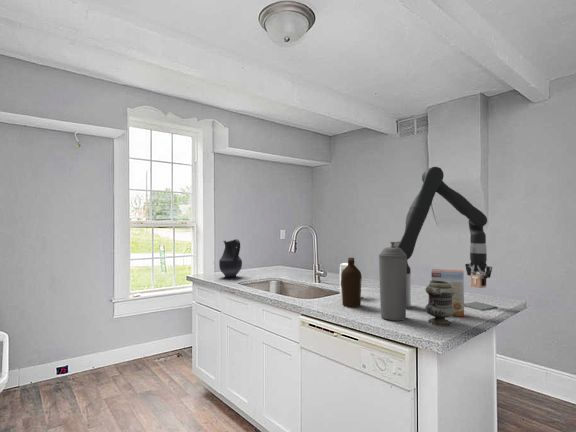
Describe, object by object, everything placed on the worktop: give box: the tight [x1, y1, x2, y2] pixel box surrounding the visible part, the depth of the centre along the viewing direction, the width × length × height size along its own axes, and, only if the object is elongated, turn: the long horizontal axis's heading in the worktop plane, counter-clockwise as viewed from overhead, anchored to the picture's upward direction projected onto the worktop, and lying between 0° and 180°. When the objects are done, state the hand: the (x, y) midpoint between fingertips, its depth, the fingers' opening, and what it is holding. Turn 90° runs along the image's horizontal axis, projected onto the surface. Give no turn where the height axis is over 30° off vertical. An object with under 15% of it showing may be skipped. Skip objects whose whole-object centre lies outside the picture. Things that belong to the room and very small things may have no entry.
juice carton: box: [339, 262, 357, 297], centre depth 212 cm, size 8×9×19 cm
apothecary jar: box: [424, 279, 455, 327], centre depth 158 cm, size 12×12×18 cm
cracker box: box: [431, 268, 465, 318], centre depth 172 cm, size 14×6×21 cm, turn 65°
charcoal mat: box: [464, 301, 498, 312], centre depth 185 cm, size 12×12×1 cm
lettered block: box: [470, 273, 487, 289], centre depth 185 cm, size 5×5×6 cm
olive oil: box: [341, 257, 363, 308], centre depth 190 cm, size 11×11×25 cm
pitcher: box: [218, 238, 243, 280], centre depth 278 cm, size 17×21×30 cm
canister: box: [378, 241, 408, 321], centre depth 166 cm, size 13×13×35 cm
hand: (478, 284), depth 185 cm, fingers closed on lettered block, 5 cm apart
